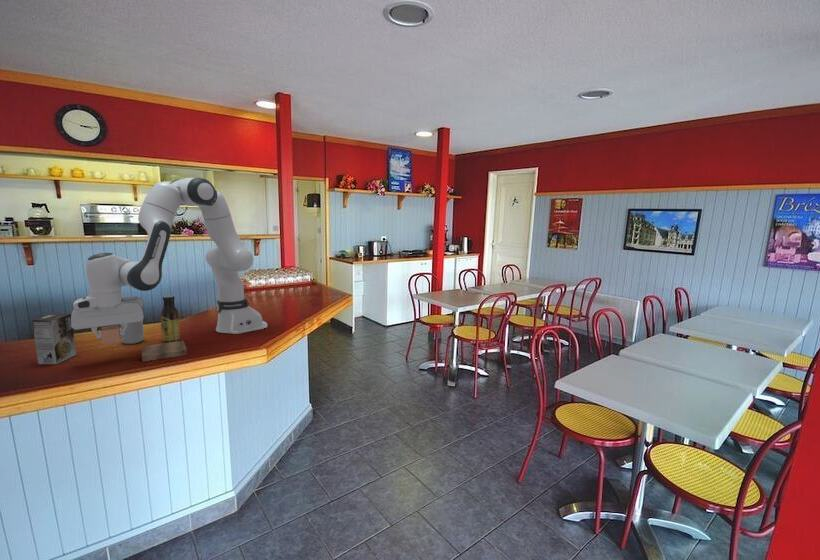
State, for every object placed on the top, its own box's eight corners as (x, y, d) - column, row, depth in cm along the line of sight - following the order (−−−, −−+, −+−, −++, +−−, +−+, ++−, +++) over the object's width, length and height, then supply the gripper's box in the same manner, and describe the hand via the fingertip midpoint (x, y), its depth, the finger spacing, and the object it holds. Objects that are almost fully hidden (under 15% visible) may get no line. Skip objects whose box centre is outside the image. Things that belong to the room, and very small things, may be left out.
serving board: (184, 345, 156) (183, 340, 155) (187, 354, 145) (186, 349, 145) (142, 351, 148) (141, 346, 147) (142, 361, 137) (141, 356, 137)
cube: (120, 338, 140) (119, 325, 139) (120, 342, 136) (118, 328, 135) (103, 340, 137) (101, 327, 136) (102, 344, 133) (100, 331, 132)
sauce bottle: (160, 342, 158) (156, 295, 155) (177, 339, 163) (174, 293, 160) (165, 346, 154) (161, 298, 151) (182, 342, 159) (179, 296, 155)
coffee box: (58, 355, 141) (53, 313, 139) (77, 355, 142) (72, 313, 139) (37, 364, 132) (30, 319, 130) (56, 364, 133) (51, 319, 130)
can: (132, 345, 153) (130, 316, 151) (117, 344, 155) (114, 315, 153) (148, 340, 161) (146, 312, 159) (134, 338, 162) (131, 311, 160)
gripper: (142, 294, 142) (146, 329, 145) (69, 301, 131) (75, 339, 133) (142, 297, 137) (146, 334, 140) (67, 304, 126) (73, 344, 128)
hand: (111, 336), depth 136 cm, fingers closed on cube, 5 cm apart
